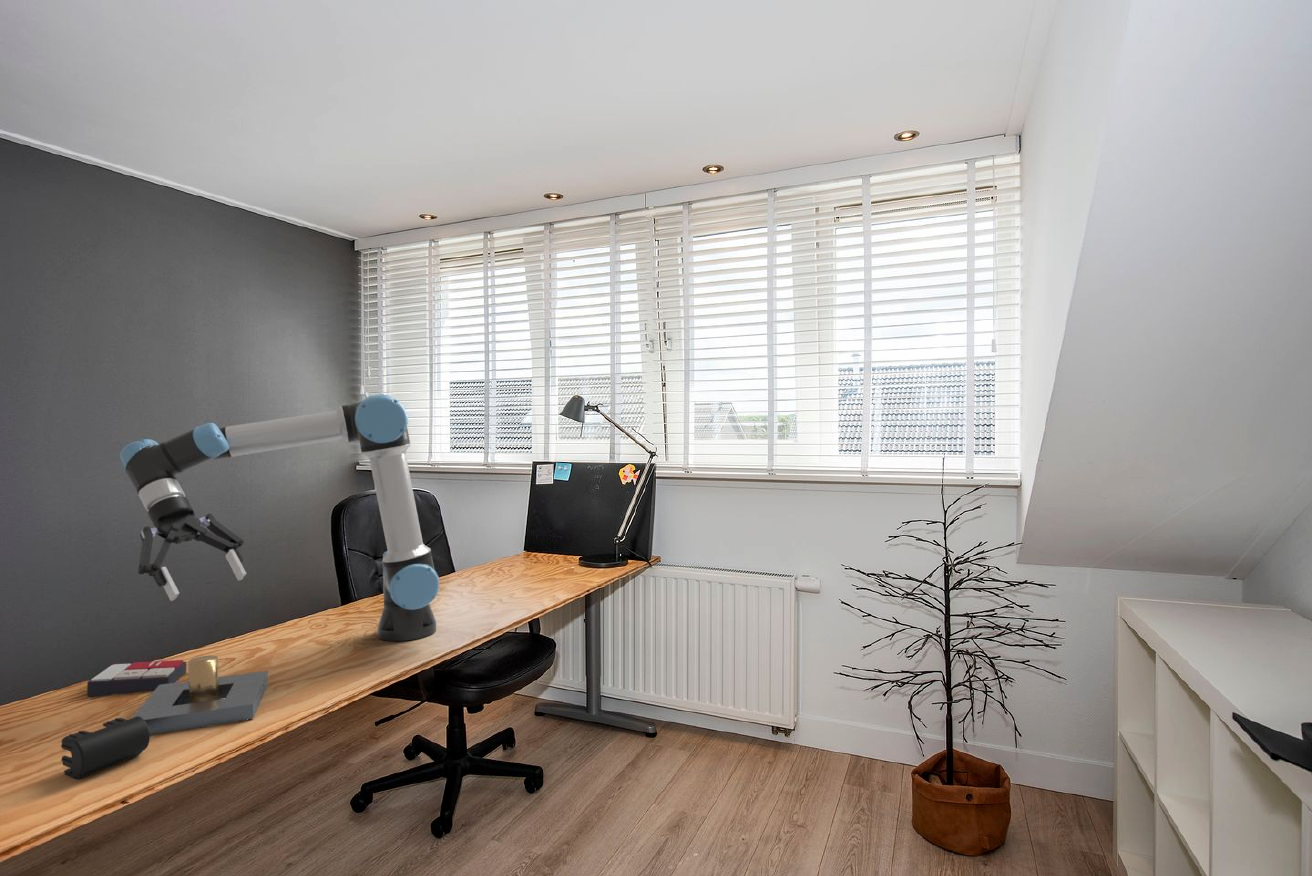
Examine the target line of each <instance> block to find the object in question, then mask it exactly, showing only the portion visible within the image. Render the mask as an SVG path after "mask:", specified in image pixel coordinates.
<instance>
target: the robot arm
mask: <svg viewBox="0 0 1312 876" xmlns="http://www.w3.org/2000/svg"><path fill="white" fill-rule="evenodd" d="M408 416H409V415H408V412H407V410H406V408H405V406H404V404H402V402H400V401H399V400H398V399H397V398H395V397H393V396H391V395H387V394H374V395H371V396H368V397H365V399H364V398H363V400H361V401H358V402H355V403H351V404H346V405H340V406H339V407H337V409H336V410H331V411H323V412H318V413H311V414H305V415H304V414H303V415H297V416H290V417H283V418H277V419H271V420H270V419H269V420H263V421H256V422H249V423H241V424H236V425H229V426H224V427H218V426H217V424H216V423H214V422H207V423H205V424H203V425H199V426H196V427H194V428H193V429H190V430H188V431H186V432H184V433H182V434H180V435H177V436H175V437H173V438H171V439H169V440H167V441H163V442H161V443H158V442H157V441H155V440H153V439H149V438H146V439H145V438H143V439H141V440H135V441H132V442H131V443H128V444H127V445H125V446H124V447H123V448H122V449H121V451H120V453H119V458H120V460H121V463H122V465H123V468H124V472H125V473H126V475H127V476H128V478H129V480H130V482H131V484H132V486H133V487H134V488H135V491H136V493H137V494H138V495H137V496H138V497H139V499H140V501H141V502H142V505H143V507H144V509H145V510H146V511H147V515H148V517H149V519H150V521H151V522H152V525H153V526H154V527H150V526H148V525H147V526H144V528H143V529H142V530H141V532H140V534H139V537H140V540H141V542H142V543H141V549H140V554H139V555H140V557H139V562H138V569H137V570H138V571H137V573H138V574H139V575H144V574H148V576H150V577H153V579H154V582H155V584H156V585H157V586H158V587H159V588H160V587H163V589H164V591H165V592H166V594H167V597H168V598H169V601H170V602H172V601H175V600H176V599H177V597H178V596H179V594H180V592H179V590H178V587H177V586H176V584H175V582H174V579H173V578H172V576H171V574H170V572H169V570H168V568H167V566H162V564H163V562H164V559H165V558H166V555H167V553H168V552H169V549H170V547H171V544H175V545H178V544H181V543H183V542H184V543H185V542H190V541H193V540H195V541H197V542H203V543H205V544H207V545H209V546H211V547H214V548H216V549H217V550H220V551H221V552H224V553H226V554H225V559H226V561H227V562H228V564H229V566H230V567H231V570H232V572H233V574H234V576H235V577H236V579H237V581H242V580H243V579H244V578H245V576H246V575H247V571H246V570H245V568H244V565H243V564H242V563H243V561H244V558H243V557H242V555H241V552H239V550H240V549H241V547H242V546H243V545H244V544H245V541H244V540H243V539H242V538H241V537H239V536H238V535H236V534H235V533H234V532H232V531H231V530H230V529H228V527H226V526H224V524H222V523H220V522H219V521H217V519H216V517H214V515H213V513H210V512H209V513H207V514H206V516H203V517H200V518H199V517H197V515H196V514H195V512H194V509H193V507H192V505H191V504H190V501H189V500H188V498H187V497H186V493H185V492H184V490H183V489H182V486H181V485H180V483H179V481H178V479H177V477H176V476H177V475H178V474H181V473H183V472H185V471H187V470H190V469H192V468H194V467H196V466H199V465H201V464H203V463H206V462H210V461H215V460H222V459H227V458H228V459H229V458H233V457H238V456H244V455H251V454H257V453H263V452H271V451H275V450H282V449H289V448H296V447H302V446H308V445H313V444H319V443H320V444H321V443H326V442H334V441H338V440H339V441H341V440H343V441H344V442H346V443H349V442H359V448H360V452H361V454H362V455H363V456H365V457H366V458H368V459H369V464H370V469H371V474H372V478H373V483H374V489H375V494H376V499H377V504H378V508H379V513H380V518H381V519H380V520H381V524H382V528H383V535H384V538H385V539H384V540H385V545H386V548H387V551H384V552H383V554H382V561H381V563H382V578H383V579H382V585H383V586H382V587H383V588H382V591H383V593H382V594H383V609H382V612H381V615H380V618H379V621H378V626H377V629H376V631H377V638H379V639H380V640H381V641H387V642H388V641H389V642H405V641H412V640H418V639H422V638H426V637H428V636H430V635H433V634H434V633H436V632H437V620H436V617H435V616H434V612H433V609H432V607H431V604H430V603H432V602H433V601H434V599H435V598H436V597H437V595H438V593H439V589H440V577H439V575H438V572H437V571H436V570H435V569H436V568H435V565H434V560H433V556H432V555H433V554H432V549H431V547H428V546H427V545H425V543H424V542H423V535H422V531H421V527H420V526H421V525H420V521H419V514H418V510H417V505H416V499H415V495H414V490H413V489H414V488H413V486H412V479H411V475H410V474H411V473H410V469H409V464H408V459H407V450H408V449H409V447H410V446H411V440H410V436H409V435H410V434H409V431H408V423H409V417H408ZM156 535H157V536H158V537H160V538H162V539H164V540H163V542H162V544H161V547H160V548H159V550H158V553H157V555H156V556H155V559H154V561H153V563H151V554H152V549H153V542H154V538H155V536H156ZM150 563H151V564H150ZM161 566H162V567H161Z"/></svg>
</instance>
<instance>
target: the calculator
mask: <svg viewBox="0 0 1312 876" xmlns="http://www.w3.org/2000/svg"><path fill="white" fill-rule="evenodd" d="M185 674H187V661H184V659H175V660H174V659H173V660H172V659H171V660H158V661H157V660H155V661H137V662H133V663H115V664H112V665H110V666H108V667H107V668H105V669H104V670H103V671H101V672H100V673H99V674H97V675H95V676H94V677H92V678H91V679H90V680H88V682H87V686H86V687H87V688H86V693H87V694H86V698H87V697H91V698H97V697H98V698H99V697H107V696H112V695H123V694H135V693H137V692H138V693H145V691H147V692H154V690H155V689H156V688H157V687H158V686H159V685H162V684H169V683H175V682H176V681H177V682H178V681H179V680H180V679H181V678H182V677H184V676H185ZM179 678H180V679H179ZM177 682H176V683H177Z"/></svg>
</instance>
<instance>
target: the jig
mask: <svg viewBox="0 0 1312 876" xmlns="http://www.w3.org/2000/svg"><path fill="white" fill-rule="evenodd" d="M218 685H219V699H218V700H211V701H204V702H197V703H190V704H189V680H186V681H179V682H178V681H177V682H176V683H169V684H162V685H159V686H158V687H157V688H156V689H155V690H154V691H152V693H151V694H150V695H149V696H148V697H147V699H146V700H145V701H144V703H142V704H141V706H139V708H138V710H137V711H136V712H135V713H134V714H133V715H132V716H131V718H134V717H137V716H139V717H141V718H143V719H144V721H145V722H146V724H147V726H148V729H149V734H150V736H153V735H161V734H166V733H173V732H179V731H185V730H192V729H193V730H194V729H200V728H206V727H212V726H214V727H215V726H219V725H225V724H226V723H227V724H233V723H238V722H237V721H240V722H244V721H243V720H246V721H248V720H247V719H253V718H255V716H256V714H257V712H256V711H258V709H259V707H260V705H259V704H261V702H262V700H261V699H263V698H264V695H265V693H264V692H266V690H267V688H268V686H267V685H269V670H262V671H256V672H247V673H239V674H238V673H237V674H233V675H232V674H231V675H224V676H218ZM266 687H267V688H266ZM221 698H225V699H221ZM257 708H258V709H257ZM253 720H254V719H253ZM232 722H233V723H232ZM227 724H226V725H227Z"/></svg>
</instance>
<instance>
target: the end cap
mask: <svg viewBox="0 0 1312 876" xmlns="http://www.w3.org/2000/svg"><path fill="white" fill-rule="evenodd" d="M102 726H103V727H104V728H100V729H98V730H95V731H86V730H83V729H82V730H78V731H77V732H75V733H70V734H69V735H67V736H65V737H63V738H62V739H61V745H60V747H61V749H62V750H64V751H67V752H69V753H70V754H71V756H68V755H63V756H61V759H60V760H61V761H60V762H61V763H62V764H61V765H63V766H64V767H67V769H64V771H63V774H64V776H67V777H69V778H72V779H75V780H80V779H82V778H85V777H88V776H90V775H93V774H95V773H97V772H99V771H103V770H105V769H107V768H110V767H113V766H115V765H117V764H119V763H122V762H125V761H127V760H128V761H129V760H130V759H133V758H135V757H137V756H139V755H141V754H142V753H143V751H145V750H146V749H147V748H148V746H149V743H150V740H151V739H150V738H151V737H150V736H151V735H150V734H149V729H148V726H147V724H146V722H145V721H144V719H143V718H141V717H139V716H137V717H134V718H132V717H131V718H128V719H126V718H124V717H119V718H117V717H116V718H115V719H112V720H107V721H105V722H103V723H102Z"/></svg>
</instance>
